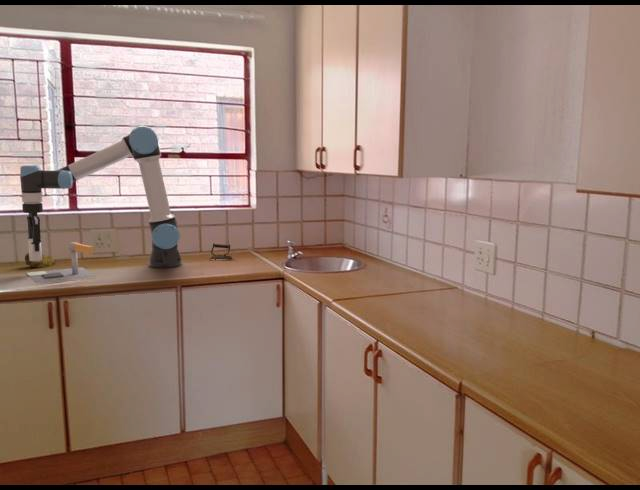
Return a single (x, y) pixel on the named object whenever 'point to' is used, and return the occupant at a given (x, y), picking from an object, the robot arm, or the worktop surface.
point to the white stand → (64, 272)
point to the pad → (36, 273)
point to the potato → (44, 262)
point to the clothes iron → (220, 255)
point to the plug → (32, 251)
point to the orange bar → (80, 248)
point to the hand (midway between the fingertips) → (35, 257)
